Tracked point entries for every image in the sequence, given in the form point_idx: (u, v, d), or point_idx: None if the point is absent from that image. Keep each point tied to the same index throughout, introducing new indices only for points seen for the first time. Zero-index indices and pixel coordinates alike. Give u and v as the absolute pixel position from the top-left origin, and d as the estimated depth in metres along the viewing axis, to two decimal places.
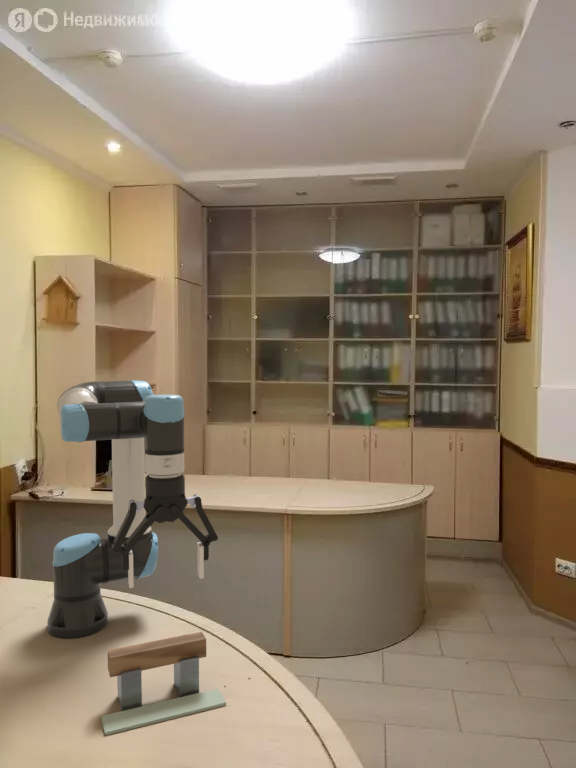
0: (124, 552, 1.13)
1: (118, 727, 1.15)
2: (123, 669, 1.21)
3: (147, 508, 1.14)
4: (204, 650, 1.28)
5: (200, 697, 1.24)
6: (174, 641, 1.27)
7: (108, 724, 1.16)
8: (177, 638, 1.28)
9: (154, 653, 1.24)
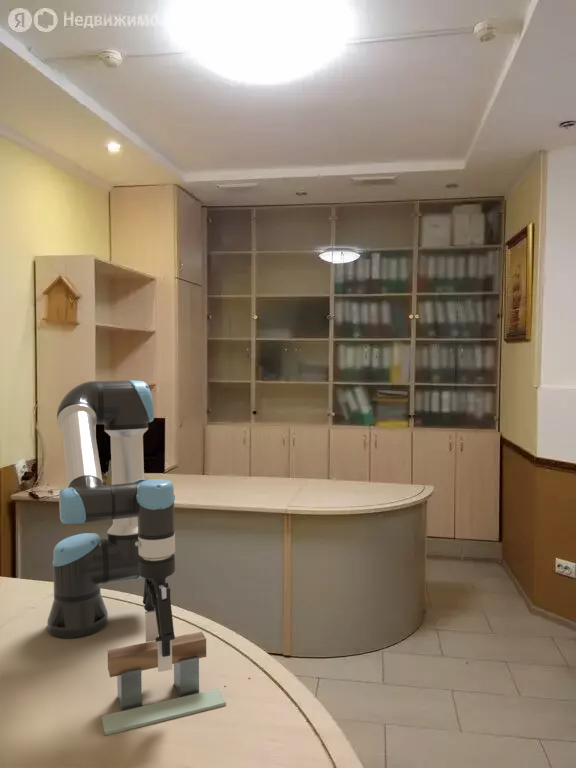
0: None
1: (118, 727, 1.15)
2: (123, 669, 1.21)
3: None
4: (204, 650, 1.28)
5: (200, 697, 1.24)
6: (174, 641, 1.27)
7: (108, 724, 1.16)
8: (177, 638, 1.28)
9: (154, 653, 1.24)
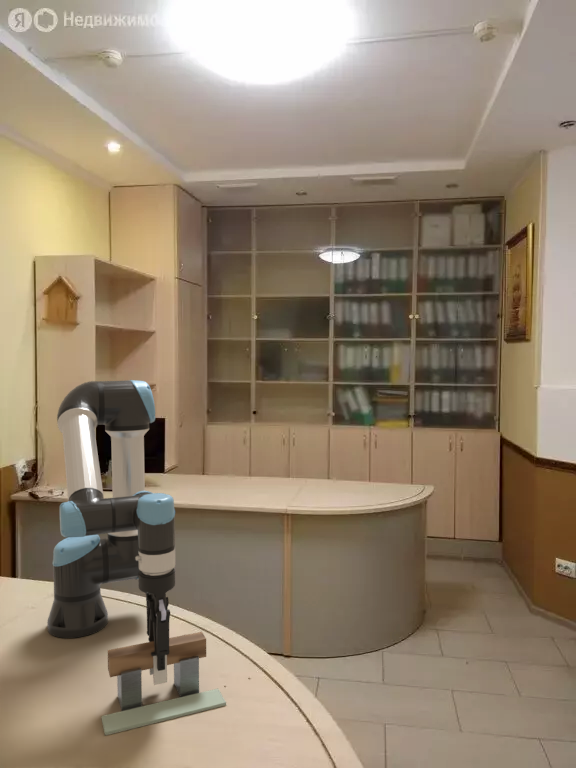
0: None
1: (118, 727, 1.15)
2: (123, 669, 1.21)
3: (149, 593, 1.28)
4: (204, 650, 1.28)
5: (200, 697, 1.24)
6: (174, 641, 1.27)
7: (108, 724, 1.16)
8: (177, 638, 1.28)
9: None
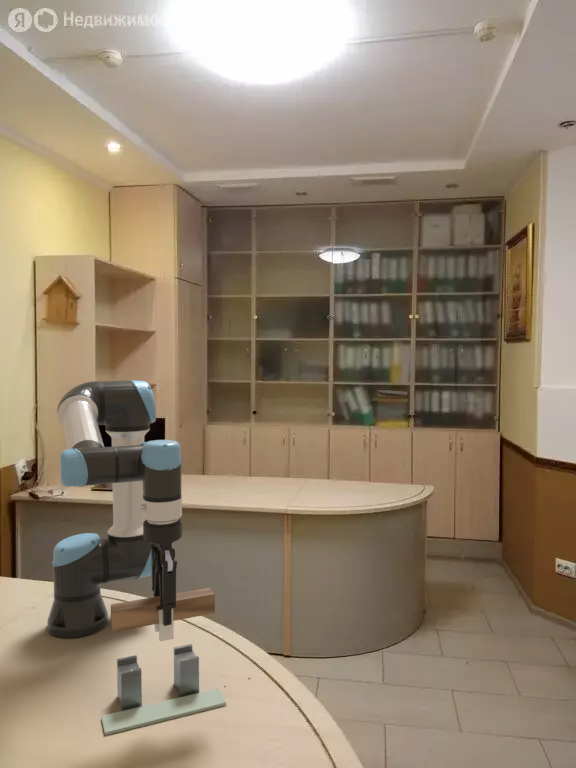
0: None
1: (118, 727, 1.15)
2: (127, 623, 1.15)
3: (154, 546, 1.21)
4: (212, 606, 1.21)
5: (200, 697, 1.24)
6: (180, 596, 1.20)
7: (108, 724, 1.16)
8: (183, 594, 1.21)
9: None
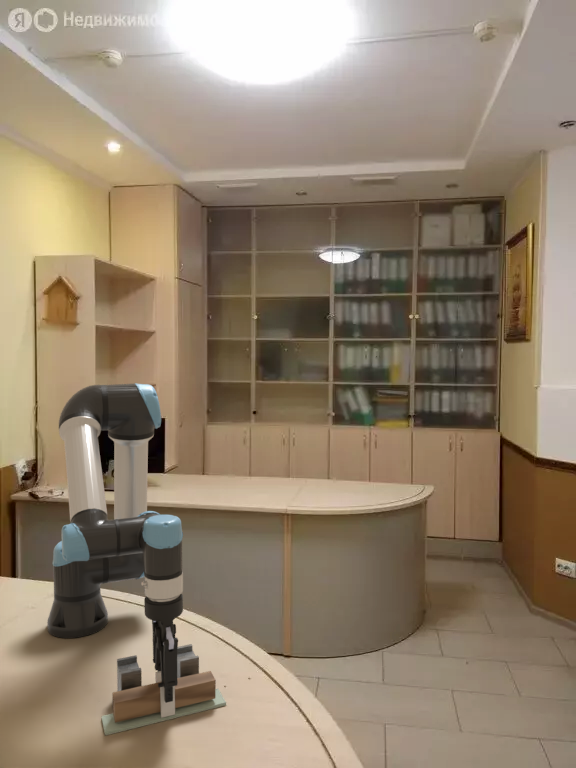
0: None
1: (118, 727, 1.15)
2: (129, 714, 1.16)
3: None
4: (213, 692, 1.22)
5: None
6: (182, 683, 1.21)
7: (108, 724, 1.16)
8: (185, 679, 1.22)
9: None
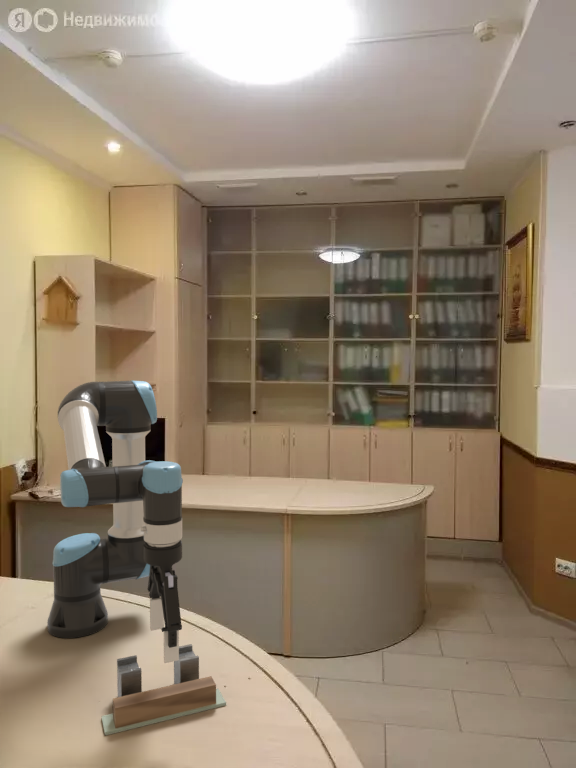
0: None
1: None
2: (129, 719, 1.15)
3: (154, 565, 1.22)
4: (214, 696, 1.22)
5: None
6: (182, 688, 1.21)
7: (108, 724, 1.16)
8: (185, 684, 1.22)
9: (162, 702, 1.18)
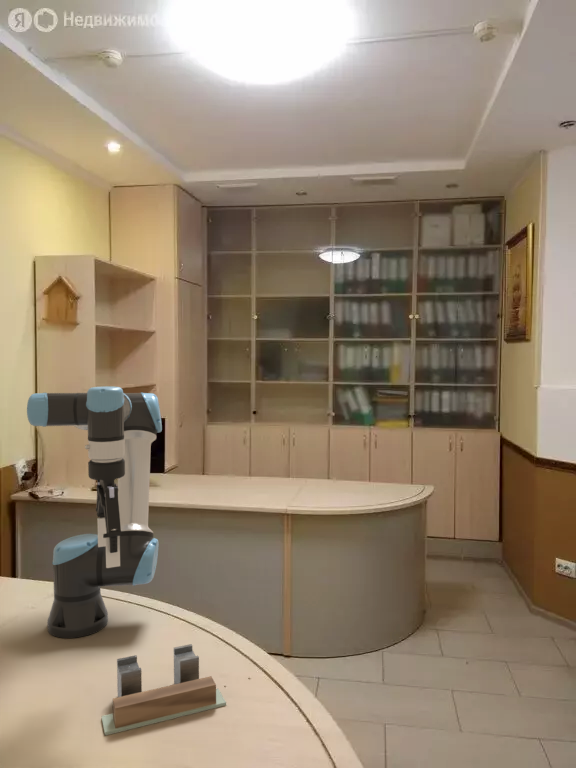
0: None
1: None
2: (129, 719, 1.15)
3: None
4: (214, 696, 1.22)
5: None
6: (182, 688, 1.21)
7: (108, 724, 1.16)
8: (185, 684, 1.22)
9: (162, 702, 1.18)
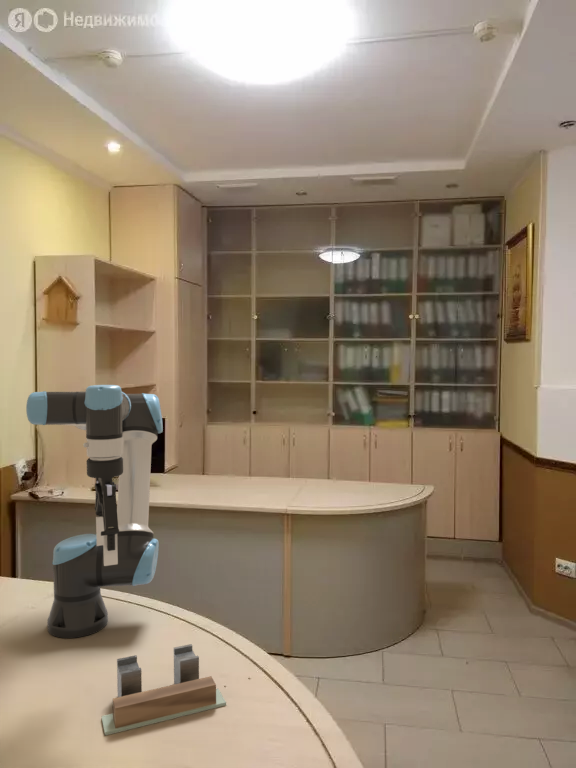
0: None
1: None
2: (129, 719, 1.15)
3: (98, 482, 1.31)
4: (214, 696, 1.22)
5: None
6: (182, 688, 1.21)
7: (108, 724, 1.16)
8: (185, 684, 1.22)
9: (162, 702, 1.18)
